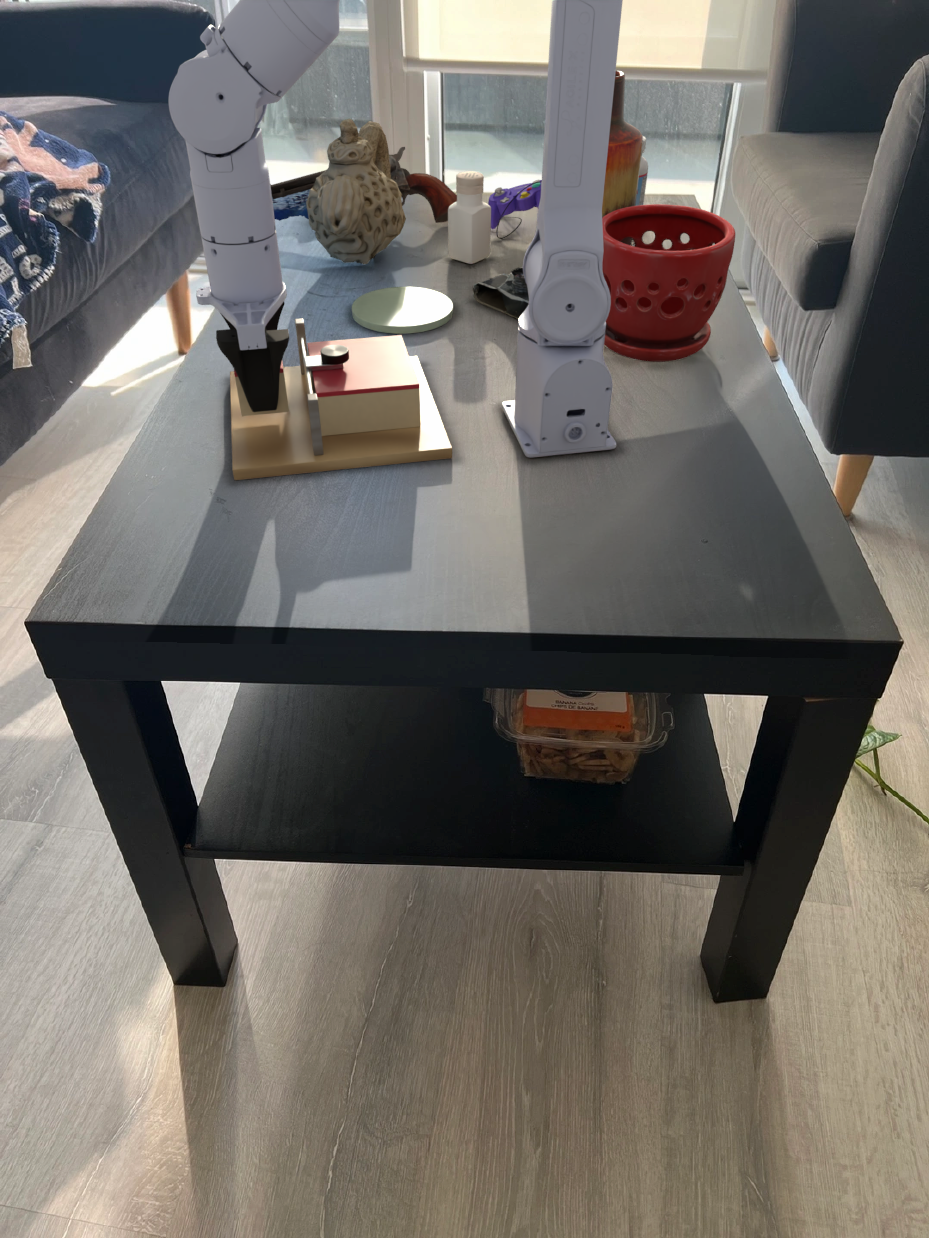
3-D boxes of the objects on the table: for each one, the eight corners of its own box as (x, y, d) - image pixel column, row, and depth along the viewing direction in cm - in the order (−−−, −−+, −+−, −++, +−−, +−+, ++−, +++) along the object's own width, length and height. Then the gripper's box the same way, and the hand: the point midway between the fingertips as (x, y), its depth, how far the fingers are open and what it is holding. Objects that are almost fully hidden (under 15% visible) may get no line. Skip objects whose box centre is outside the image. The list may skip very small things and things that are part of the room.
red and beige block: (420, 427, 80) (419, 384, 77) (320, 436, 79) (315, 393, 76) (403, 375, 87) (401, 334, 85) (311, 383, 86) (306, 342, 83)
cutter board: (452, 458, 78) (452, 393, 74) (234, 480, 75) (222, 413, 71) (417, 365, 91) (415, 305, 87) (231, 381, 89) (221, 320, 85)
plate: (462, 329, 98) (462, 322, 97) (358, 337, 96) (357, 330, 96) (443, 290, 106) (443, 283, 106) (347, 297, 104) (346, 290, 104)
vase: (644, 275, 110) (670, 79, 97) (562, 287, 107) (577, 87, 94) (601, 245, 117) (619, 60, 104) (523, 256, 114) (532, 67, 101)
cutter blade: (359, 428, 78) (355, 377, 75) (314, 433, 78) (308, 381, 75) (345, 371, 87) (341, 323, 84) (305, 375, 86) (299, 326, 83)
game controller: (467, 210, 116) (486, 171, 122) (488, 268, 122) (505, 229, 128) (542, 192, 112) (558, 153, 118) (560, 254, 117) (575, 213, 123)
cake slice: (289, 412, 79) (283, 368, 77) (241, 416, 79) (234, 372, 76) (285, 385, 83) (280, 343, 80) (240, 389, 82) (233, 347, 80)
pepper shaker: (471, 266, 112) (472, 182, 106) (446, 259, 114) (445, 176, 107) (492, 257, 114) (494, 174, 108) (466, 250, 116) (467, 168, 110)
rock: (334, 169, 135) (335, 183, 136) (232, 194, 127) (234, 209, 128) (396, 189, 126) (397, 204, 128) (291, 218, 118) (293, 234, 119)
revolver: (469, 220, 125) (441, 145, 127) (470, 202, 121) (441, 125, 123) (281, 273, 122) (255, 196, 124) (276, 256, 118) (250, 177, 121)
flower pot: (574, 321, 100) (583, 204, 92) (693, 317, 100) (713, 201, 93) (599, 376, 90) (612, 250, 82) (731, 371, 91) (757, 246, 83)
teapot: (384, 290, 105) (377, 146, 96) (287, 283, 107) (269, 140, 97) (424, 229, 121) (421, 100, 111) (338, 223, 123) (328, 95, 113)
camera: (503, 288, 107) (504, 250, 104) (568, 316, 101) (572, 277, 98) (470, 299, 104) (471, 261, 101) (535, 328, 98) (537, 289, 95)
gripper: (187, 206, 76) (216, 361, 85) (183, 269, 66) (216, 439, 74) (274, 201, 77) (293, 355, 86) (283, 263, 67) (304, 431, 76)
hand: (263, 394), depth 80 cm, fingers closed on cake slice, 5 cm apart
